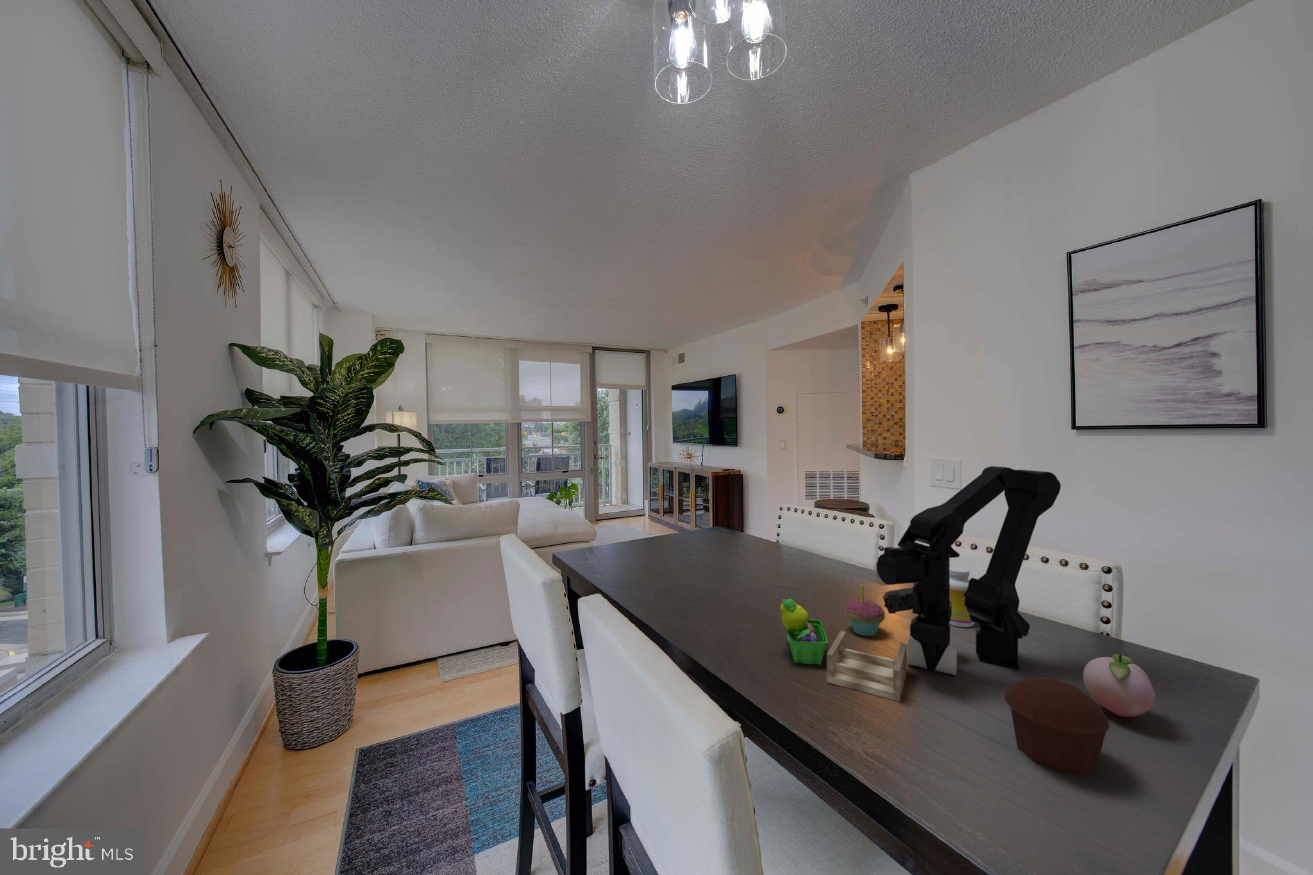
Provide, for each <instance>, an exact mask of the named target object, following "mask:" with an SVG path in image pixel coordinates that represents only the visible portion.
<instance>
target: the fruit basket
mask: <svg viewBox="0 0 1313 875" xmlns="http://www.w3.org/2000/svg"><path fill="white" fill-rule="evenodd" d="M781 602H782V603H781V604H780V606H779V609H780V613H781V621H782V624H783V626H784V627H785V630H786V636H787V641H788V643H789V647H790V650H791V654H792V659H793V662H794V663H796V664H798V663H799V664H805V665H807V664H808V665H819V666H821V665H822V662H823V657H824V655H825V652H826V647H827V646H828V643H829V640H828V638H827V635H826V631H825V629H824V625H823V622H822V621H821V620H818V619H811V618H809V614H808V611H807V610H806V609H805V608H803V606H802V605H799V604H798V603H796V602H795V601H794V599H791V598H787V599H785V598H783V599H782V601H781Z"/></svg>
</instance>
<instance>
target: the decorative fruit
mask: <svg viewBox="0 0 1313 875" xmlns="http://www.w3.org/2000/svg"><path fill="white" fill-rule="evenodd" d="M1082 679H1083V680H1082V681H1083V684H1084V686H1085V688H1086V690H1087V691H1088V693H1089V694H1090V695H1091V698H1092V699H1095V701H1096V702H1098V703H1099V704H1100V705H1102V706H1103V707H1104V708H1105V709H1107V710H1108V711H1110V712H1112V713H1113V714H1114V715H1117V716H1119V717H1122V718H1123V717H1124V718H1129V717H1130V718H1131V717H1132V718H1133V717H1139V716H1141V715H1143V714H1145V713H1146V712H1148V711H1149V710H1150V709H1151V708H1152V707H1153V705H1154V703H1155V700H1156V692H1155V690H1154V687H1153V685H1152V682H1151V680H1150V678H1149V676H1148V674H1147V673H1146V672H1145V671H1144V670H1143V669H1142V668H1141V667H1140V666H1139V665H1137V664H1136V663H1134V660H1132V658H1130V657H1128V656H1125V655H1122V654H1119V653H1117V654H1113V655H1112V656H1111V657H1110V656H1101V657H1096V658H1093V659H1092V660H1089V662H1087V663H1086V665H1085V667H1084V669H1083V673H1082Z"/></svg>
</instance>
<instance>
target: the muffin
mask: <svg viewBox="0 0 1313 875" xmlns="http://www.w3.org/2000/svg"><path fill="white" fill-rule="evenodd" d="M1004 701H1005V702H1006V704H1007V705H1008V706H1009V707H1010V712H1011V717H1012V723H1013V728H1014V729H1013V730H1014V736H1015V741H1016V746H1017V749H1018V750H1019V751H1020V752H1022V753H1023V754H1024V755H1026V756H1027V758H1028V759H1030V760H1031V761H1032V762H1033V763H1036V764H1038V765H1041V766H1044V767H1045V768H1048V769H1050V770H1052V771H1054V772H1056V773H1058V774H1066V775H1067V774H1068V775H1072V776H1078V777H1085V776H1087V775H1088V774H1092V773H1095V772H1097V769H1098V766H1099V761H1100V758H1101V757H1100V756H1101V752H1102V748H1103V745H1104V740H1105V737H1106V732H1107V731H1108V730H1109V729H1110V727H1111V726H1110V723H1109V719H1108V717H1107V716H1106V714H1105V712H1104V710H1102V708H1101V706H1100V705H1099V704H1098V703H1097V701H1096V700H1094V698H1093V697H1090V696H1089V695H1088V694H1087V693H1085V692H1084V691H1083V690H1082V689H1080V688H1078V687H1076V686H1074V685H1072V684H1070V683H1069V682H1066V681H1063V680H1060V679H1056V678H1052V677H1051V678H1050V677H1046V676H1042V677H1041V676H1036V677H1035V676H1034V677H1029V678H1026V679H1025V678H1024V679H1022V680H1020V681H1017V682H1015V683H1014V684H1012V685H1011V686H1010V687H1009V688H1008V689H1007V690H1006V691H1005V692H1004Z"/></svg>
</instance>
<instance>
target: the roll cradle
mask: <svg viewBox="0 0 1313 875" xmlns="http://www.w3.org/2000/svg"><path fill="white" fill-rule="evenodd" d="M907 652H908V643H902V642H901V643H900V645H899V648H898V652H897V655H896V657H895V658H890V657H886V656H885V657H884V656H881V655H876V654H872V653H868V652H862V651H858V650H853V649H850V648H847V631H844V630H840V631H839V632H838V635H837V636H836V638H835V639H834V641H833V643H832V644H831V646H830V648H829V649H828V652H827V653H826V682H827V683H829V684H833V685H837V686H840V687H843V688H848V689H851V690H856V691H859V692H864V693H867V694H870V695H873V696H878V697H881V698H885V699H889V700H892V701H897V702H901V697H902V693H903V689H904V684H905V680H906V677H907V668H908V667H907V666H908V659H907Z"/></svg>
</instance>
